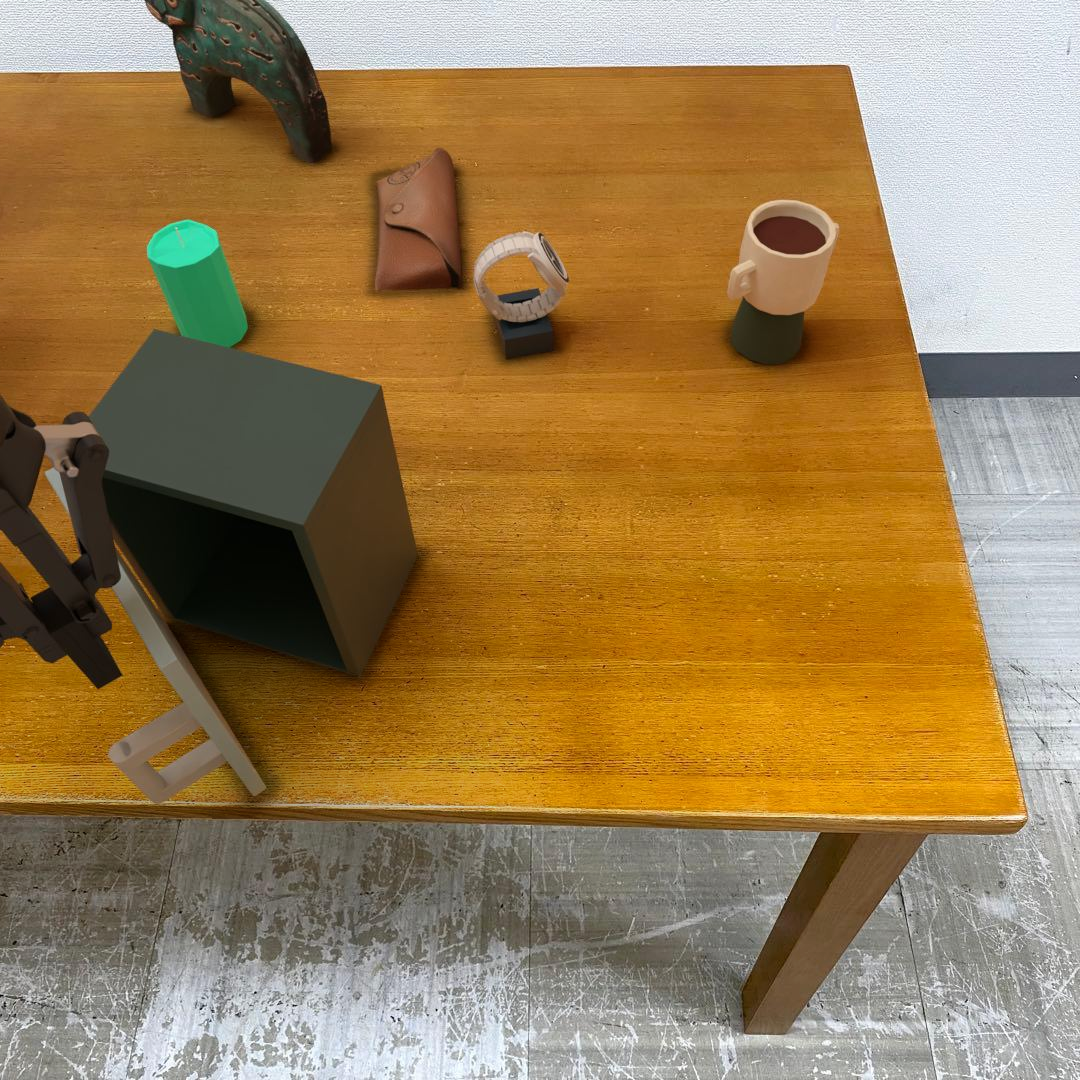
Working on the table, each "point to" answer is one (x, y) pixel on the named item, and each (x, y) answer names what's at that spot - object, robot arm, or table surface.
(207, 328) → the candle
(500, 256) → the watch
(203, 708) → the cabinet door
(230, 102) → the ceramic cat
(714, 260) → the table surface
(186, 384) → the cabinet
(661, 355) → the table surface
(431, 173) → the sunglasses case
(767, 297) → the character mug
